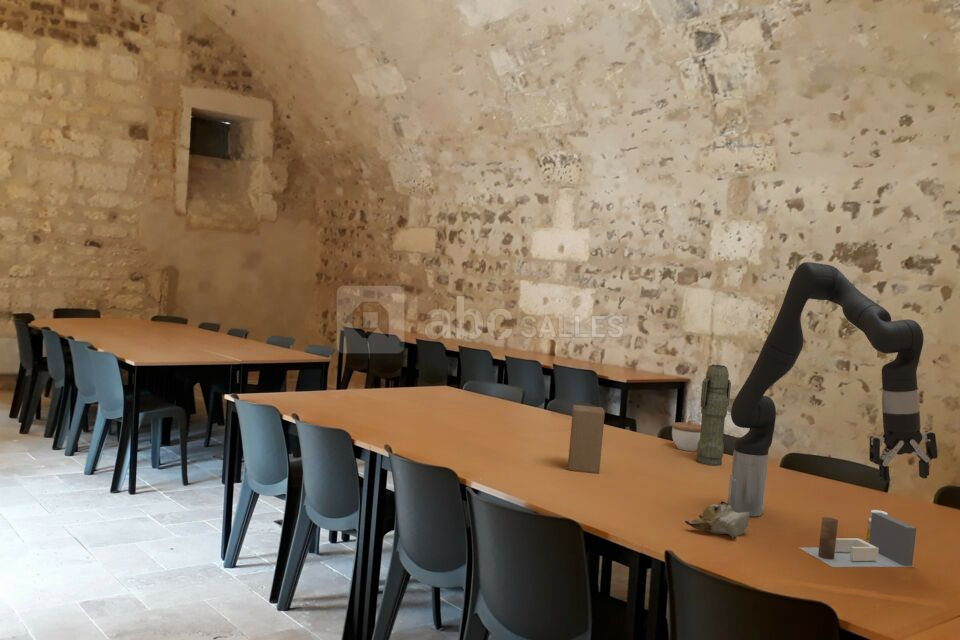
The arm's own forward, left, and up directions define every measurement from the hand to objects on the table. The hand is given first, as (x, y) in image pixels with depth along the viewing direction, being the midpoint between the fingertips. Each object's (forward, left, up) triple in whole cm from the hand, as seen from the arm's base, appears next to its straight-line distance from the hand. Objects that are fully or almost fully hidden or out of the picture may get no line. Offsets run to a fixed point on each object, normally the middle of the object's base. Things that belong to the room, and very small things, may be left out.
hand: (904, 479), depth 190 cm
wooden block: (-77, +70, -23) cm, 106 cm away
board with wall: (-7, +8, -23) cm, 25 cm away
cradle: (-7, +8, -21) cm, 23 cm away
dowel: (-14, +5, -21) cm, 26 cm away
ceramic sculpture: (-38, +16, -23) cm, 47 cm away
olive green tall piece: (-35, +104, -23) cm, 112 cm away
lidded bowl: (-42, +125, -23) cm, 134 cm away
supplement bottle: (+2, +26, -23) cm, 35 cm away
